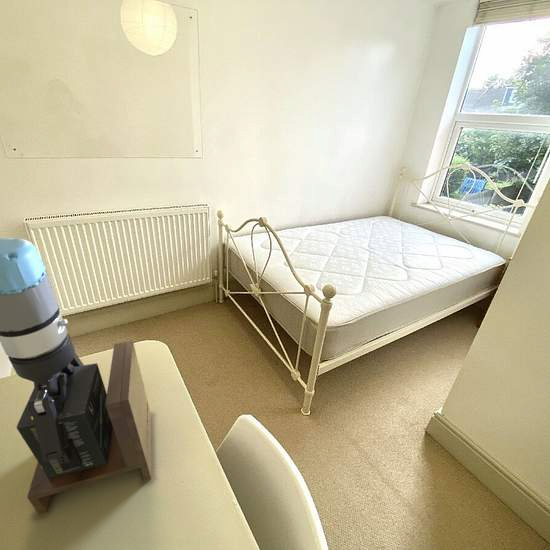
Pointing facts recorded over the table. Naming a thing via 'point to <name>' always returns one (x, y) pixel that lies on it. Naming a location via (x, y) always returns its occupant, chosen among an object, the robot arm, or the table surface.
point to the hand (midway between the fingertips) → (79, 434)
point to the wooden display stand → (124, 437)
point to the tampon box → (76, 421)
